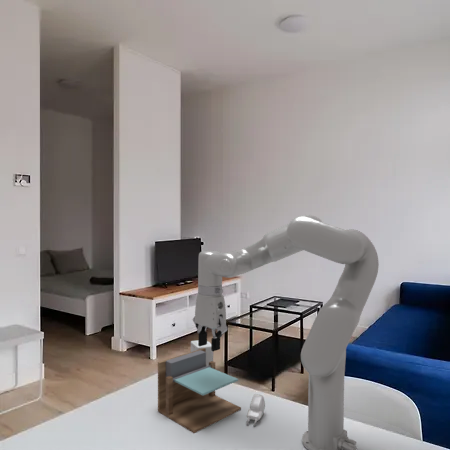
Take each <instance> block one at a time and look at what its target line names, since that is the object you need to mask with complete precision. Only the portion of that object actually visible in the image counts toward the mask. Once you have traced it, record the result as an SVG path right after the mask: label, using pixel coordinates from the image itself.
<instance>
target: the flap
mask: <svg viewBox="0 0 450 450" xmlns="http://www.w3.org/2000/svg"><path fill="white" fill-rule="evenodd" d="M188 353H189V354H187V353H185V354H186V355H183V354H182V355H183V356H180V355H179V356H180V357H177V356H175V357H176V358H174V357H172V358H173V359H170V358H169V359H170V360H167V359H166V360H167V361H166V377H168V376H171V377H173V382H176V383H178V384H180V385H182V386H184V387H186V388H188V389H190V390H193V391H195V392H197V393H199V394H201V395H206V394H208V393H210V392H213V391H215V392H216V391H217V390H220V389H222V388H224V387H227V386H229V385H231V384H233V383H236V382H238V381H239V378H237V377H235V376H232V375H229V374H227V373H224V372H223V371H220V370H218V369H216V368H215V369H213V368H211V366H210V365H209V366H206V352H204V351H201V350H199V351H196V352H193V353H190V352H188Z"/></svg>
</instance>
